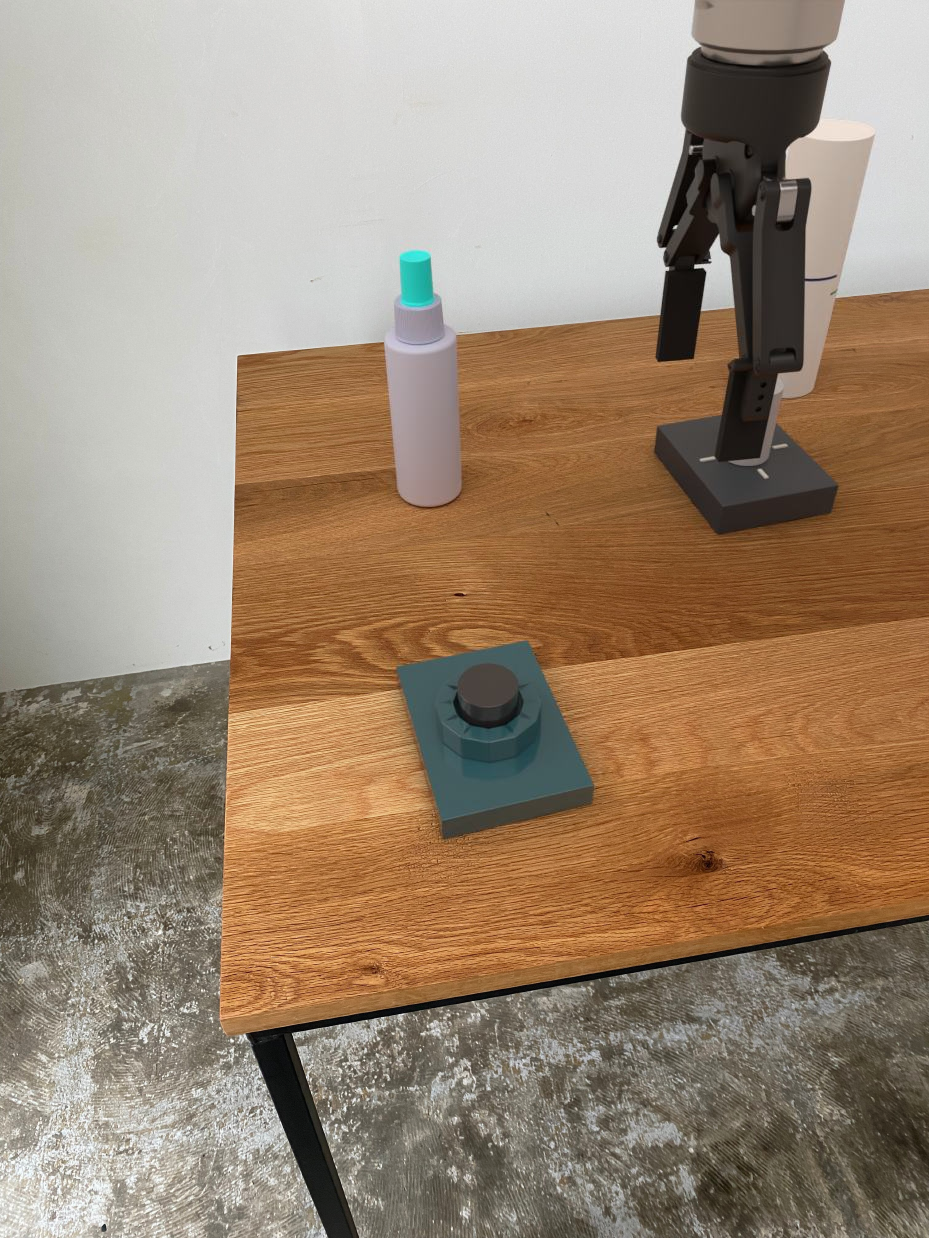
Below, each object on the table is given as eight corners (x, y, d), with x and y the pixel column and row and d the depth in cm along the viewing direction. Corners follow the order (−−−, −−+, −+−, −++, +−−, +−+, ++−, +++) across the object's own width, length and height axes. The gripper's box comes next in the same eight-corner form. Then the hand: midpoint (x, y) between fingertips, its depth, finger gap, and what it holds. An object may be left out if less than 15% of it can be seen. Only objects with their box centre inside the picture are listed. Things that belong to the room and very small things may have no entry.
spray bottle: (468, 504, 86) (460, 266, 71) (403, 513, 85) (381, 275, 70) (455, 469, 90) (445, 238, 76) (393, 477, 90) (371, 246, 75)
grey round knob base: (592, 804, 61) (596, 764, 58) (442, 839, 59) (439, 800, 56) (527, 658, 71) (528, 619, 68) (398, 685, 69) (393, 646, 66)
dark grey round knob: (525, 721, 61) (526, 699, 60) (466, 734, 61) (466, 712, 59) (508, 679, 64) (508, 657, 63) (452, 691, 64) (450, 669, 62)
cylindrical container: (732, 376, 102) (775, 126, 86) (782, 360, 105) (835, 114, 88) (776, 404, 98) (832, 146, 81) (828, 387, 100) (893, 132, 83)
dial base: (831, 513, 83) (839, 483, 81) (717, 534, 81) (723, 504, 79) (756, 434, 93) (762, 406, 91) (653, 452, 92) (657, 423, 89)
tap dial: (777, 461, 84) (794, 388, 79) (732, 469, 83) (746, 396, 78) (754, 437, 87) (769, 365, 82) (710, 444, 87) (723, 372, 82)
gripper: (631, 9, 59) (606, 329, 73) (779, 114, 40) (708, 514, 55) (746, 2, 59) (699, 321, 74) (945, 103, 41) (831, 502, 55)
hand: (703, 404), depth 64 cm, fingers open, 13 cm apart
